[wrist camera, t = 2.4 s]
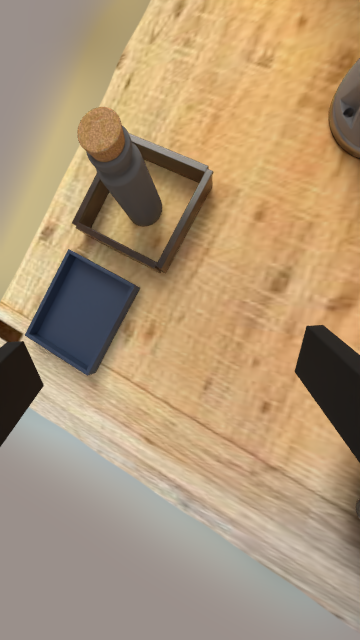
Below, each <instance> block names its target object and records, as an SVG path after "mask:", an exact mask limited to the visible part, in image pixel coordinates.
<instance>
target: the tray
mask: <svg viewBox="0 0 360 640" xmlns="http://www.w3.org/2000/svg"><path fill="white" fill-rule="evenodd" d="M139 289H140V287H138V286H136V285H134V284H132V283H130V282H129V281H127V280H125V279H123V278H121V277H119V276H118V275H116V274H114V273H112V272H110V271H108V270H106V269H105V268H103V267H101V266H99V265H97V264H95V263H93V262H92V261H90V260H88V259H86V258H84V257H82V256H80V255H79V254H77V253H75V252H73V251H71V250H69V249H68V251H67V253H66V255H65V257H64V259H63V261H62V263H61V265H60V267H59V269H58V271H57V273H56V275H55V277H54V279H53V281H52V283H51V285H50V286H49V288H48V290H47V292H46V294H45V296H44V298H43V300H42V302H41V304H40V306H39V308H38V310H37V312H36V314H35V316H34V318H33V320H32V322H31V324H30V326H29V328H28V330H27V332H26V334H25V336H27V337H28V338H30V339H31V340H33V341H34V342H36V343H37V344H39V345H41V346H42V347H44V348H45V349H47V350H48V351H50V352H51V353H53V354H55V355H56V356H58V357H59V358H61V359H62V360H64V361H65V362H67V363H69V364H70V365H72V366H73V367H75V368H76V369H78V370H79V371H81V372H83V373H84V374H86V375H87V376H88V375H91V374H93V373H95V372H96V371H97V369H98V367H99V365H100V363H101V361H102V359H103V357H104V355H105V353H106V352H107V350H108V348H109V346H110V344H111V342H112V340H113V338H114V336H115V335H116V333H117V331H118V329H119V327H120V325H121V323H122V321H123V319H124V318H125V316H126V314H127V312H128V310H129V308H130V306H131V304H132V302H133V300H134V299H135V297H136V295H137V293H138V291H139Z"/></svg>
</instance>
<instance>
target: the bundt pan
mask: <svg viewBox="0 0 360 640" xmlns="http://www.w3.org/2000/svg"><path fill="white" fill-rule="evenodd" d="M356 511H357V514H358V517H359V519H360V499H358V501H357V503H356Z"/></svg>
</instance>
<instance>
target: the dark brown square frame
mask: <svg viewBox="0 0 360 640" xmlns="http://www.w3.org/2000/svg"><path fill="white" fill-rule="evenodd" d="M129 135H130V138H131V140H132V143H134V144H135V145H136V146H137V148H138V149H139V151H140V153H141V155H142V157H143V159H145V160H148V161H150V162H152V163H155V164H157V165H159V166H162V167H164V168H166V169H169V170H171V171H173V172H176V173H178V174H180V175H183V176H185V177H187V178H190V179H192V180H194V181H197V182H199V185H198V187H197V189H196V191H195V192H194V194H193V196H192V198H191V200H190V202H189V204H188V206H187V208H186V209H185V211H184V213H183V215H182V217H181V219H180V221H179V223H178V225H177V227H176V228H175V230H174V232H173V234H172V236H171V238H170V240H169V242H168V244H167V245H166V247H165V249H164V251H163V253H162V255H161V257H160V259H159V261H158V262H155V261H153V260H151V259H149V258H147V257H145V256H143V255H141V254H140V253H138V252H136V251H134V250H132V249H130V248H128V247H126V246H124V245H122V244H120V243H118V242H116V241H114V240H112V239H110V238H108V237H106V236H104V235H102V234H100V233H98V232H96V231H95V230H93V229H91V226H92V224H93V222H94V220H95V218H96V216H97V214H98V212H99V210H100V208H101V206H102V204H103V202H104V200H105V199H106V197H107V195H108V193H109V190H108V189H107V188H106V186H105V185H104V184H103V182H102V181H101V180H100V178H99V176H98V174H96V176H95V178H94V180H93V182H92V184H91V186H90V188H89V190H88V192H87V194H86V196H85V198H84V200H83V202H82V204H81V206H80V208H79V210H78V212H77V214H76V216H75V218H74V220H73V222H72V224H74V225H76V228H77V229H78V230H80V231H82V232H83V233H84V234H86V235H87V236H89V237H91V238H93V239H95V240H97V241H99V242H101V243H103V244H104V245H106V246H108V247H110V248H112V249H114V250H116V251H118V252H120V253H122V254H124V255H126V256H128V257H130V258H131V259H133V260H135V261H137V262H139V263H141V264H143V265H145V266H147V267H149V268H151V269H153V270H155V271H157V272H158V273H161V271H162V272H164V273H166V272H167V270H168V268H169V266H170V264H171V262H172V261H173V259H174V257H175V255H176V253H177V251H178V249H179V247H180V245H181V244H182V242H183V240H184V238H185V236H186V234H187V232H188V230H189V229H190V227H191V225H192V223H193V221H194V219H195V217H196V215H197V213H198V212H199V210H200V208H201V206H202V204H203V202H204V200H205V198H206V197H207V195H208V193H209V191H210V189H211V187H212V174H213V171H212V170H209V169H208V166H207V165H205V164H202V163H200V162H197V161H195V160H193V159H190V158H188V157H185V156H183V155H180V154H178V153H176V152H173V151H171V150H168V149H166V148H163V147H161V146H159V145H156V144H154V143H151V142H149V141H146V140H144V139H142V138H139V137H137V136H134V135H132V134H129Z"/></svg>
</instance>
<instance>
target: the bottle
mask: <svg viewBox="0 0 360 640" xmlns="http://www.w3.org/2000/svg"><path fill="white" fill-rule="evenodd" d="M78 140H79V143H80V145H81V146H82V147H83V148H84V149H85V150H86V152H87V156H88V158H89V160H90V161H91V163H92V164H93V165H94V166H95V168H96V170H97V174H98V176H99V178H100V180H101V181H102V182H103V184H104V185H105V186H106V188H107V189H108V190H109V192H110V193H111V194H112V196H113V197H114V198H115V199H116V201H117V202H118V203H119V205H120V206H121V207H122V209H123V210H124V211H125V212H126V214H127V215H128V216H129V218H130V219H131V220H132V221H133V222H134V223H135V224H137V225H139V226H149V225H151V224H153V223H155V222H156V221H157V220H158V219H159V217H160V215H161V212H162V203H161V200H160V197H159V195H158V193H157V190H156V188H155V185H154V183H153V181H152V178H151V176H150V174H149V171H148V169H147V167H146V164H145V162H144V160H143V157H142V155H141V153H140V151H139V149H138V148H137V146H136V145H135V144H134V143H132V140H131V138H130V135H129V133H128V131H127V130H126V129H125V127H123V126H122V125H121V121H120V118H119V116H118V115H117V113H116V112H115V111H114V110H112V109H110V108H107V107H98V108H95V109H92V110H91V111H89V112H88V113H87V114H86V115H85V116H84V117H83V118H82V120H81V122H80V124H79V126H78Z"/></svg>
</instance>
